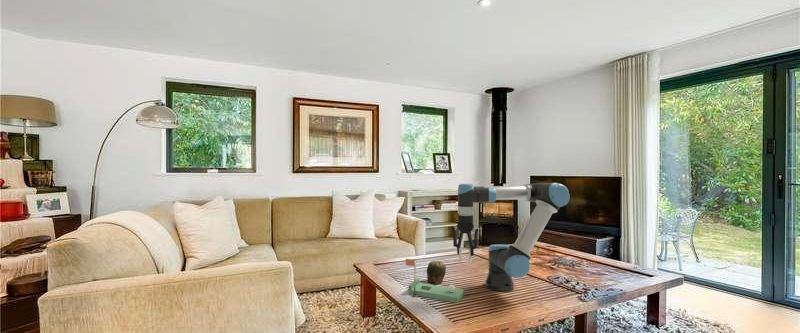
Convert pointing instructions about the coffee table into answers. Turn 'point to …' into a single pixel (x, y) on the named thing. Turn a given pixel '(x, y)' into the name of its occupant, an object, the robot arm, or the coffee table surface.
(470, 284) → the coffee table surface
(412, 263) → the flag pin
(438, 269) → the ribbed round cactus
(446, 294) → the mat
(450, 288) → the ball
